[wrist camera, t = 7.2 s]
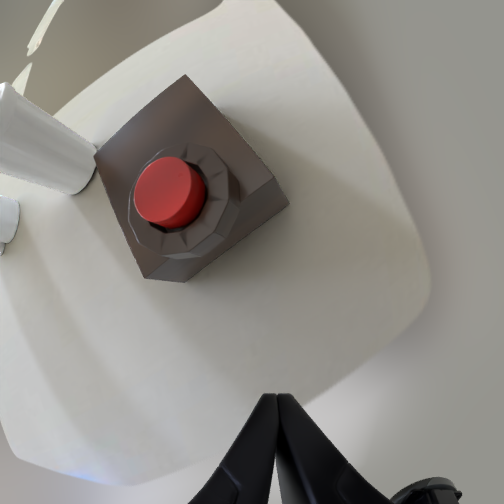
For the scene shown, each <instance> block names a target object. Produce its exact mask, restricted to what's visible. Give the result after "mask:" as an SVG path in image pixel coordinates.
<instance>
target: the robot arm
mask: <svg viewBox="0 0 504 504" xmlns="http://www.w3.org/2000/svg"><path fill="white" fill-rule="evenodd" d="M275 459H276V467H277V473H278V479H279V486H280V492H281V498H282V504H394V503H393V502H392V501H390V500H389V499H388V498H386V497H385V496H384V495H383V494H381V493H380V492H379V491H378V490H377V489H375V488H374V487H373V486H372V485H371V484H370V483H368V482H367V481H366V480H365V479H364V478H363V477H362V476H361V475H360V474H359V473H358V472H357V471H356V469H355V468H354V467H353V466H352V465H351V464H350V463H348V461H347V460H346V458H345V457H344V456H343V455H342V454H341V453H340V452H339V450H337V448H336V447H335V446H334V445H333V444H332V442H331V441H330V440H329V439H328V438H327V437H326V436H325V434H324V433H323V432H322V431H321V430H320V428H319V427H318V426H317V425H316V424H315V422H314V421H313V420H312V419H311V418H310V417H309V415H308V414H307V413H306V412H305V410H304V409H303V408H302V407H301V405H300V404H299V403H298V402H297V401H296V399H295V398H294V397H293V396H292V394H289V393H279V394H278V395H276V394H275V393H264V394H263V395H262V396H261V398H260V400H259V401H258V403H257V405H256V406H255V408H254V410H253V411H252V413H251V415H250V417H249V418H248V420H247V421H246V423H245V425H244V426H243V428H242V430H241V431H240V433H239V435H238V436H237V438H236V439H235V441H234V443H233V444H232V446H231V447H230V449H229V450H228V452H227V453H226V455H225V457H224V458H223V460H222V461H221V463H220V464H219V467H217V469H216V470H215V471H214V473H213V474H212V476H211V477H210V479H209V480H208V481H207V483H206V484H205V485H204V487H203V488H202V489H201V490H200V491H199V492H198V493H197V495H196V496H195V497H194V498H193V499H192V500H191V501H190V502H189V503H188V504H268V498H269V493H270V487H271V480H272V474H273V468H274V461H275ZM415 492H416V493H415ZM413 493H415V494H413ZM461 496H462V492H461V491H453V490H440V489H433V490H430V489H418V488H415V489H412V490H411V491H410V492H409V493H408V495H407V496H406V497H405V499H404V500H403V501H402V503H401V504H459V503H458V500H459V499H460V498H461Z"/></svg>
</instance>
